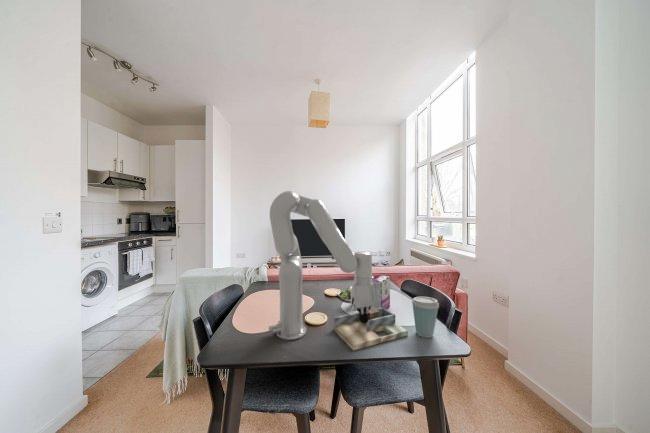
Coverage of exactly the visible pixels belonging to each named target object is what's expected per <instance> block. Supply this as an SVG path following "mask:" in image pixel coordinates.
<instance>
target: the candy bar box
mask: <svg viewBox="0 0 650 433" xmlns="http://www.w3.org/2000/svg"><path fill="white" fill-rule="evenodd" d="M390 280H391V277H390V276H389V275H383V274H382V275H380V276H378V277H376V278H374V279H372V283H373V286H374V292H375V304H374V307H373V308H375V309H377V308H382V307H383V308H385V309H386V310H388V309H389V308H390V307H391V296H390V295H391V288H390V287H391V283H390V282H391V281H390Z"/></svg>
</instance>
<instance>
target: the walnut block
mask: <svg viewBox="0 0 650 433" xmlns="http://www.w3.org/2000/svg"><path fill="white" fill-rule="evenodd" d="M375 318H379V311H378V310H376V309H375V308H373V307H372V308H370V310H369V312H368V314H367V322H368V320H371V319H375Z"/></svg>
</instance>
